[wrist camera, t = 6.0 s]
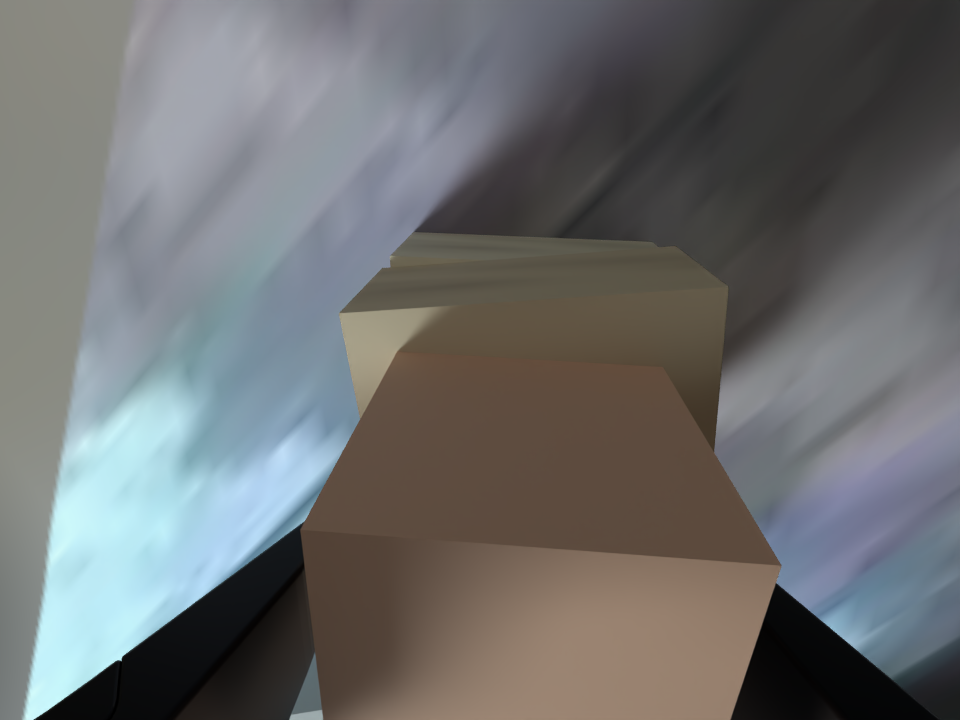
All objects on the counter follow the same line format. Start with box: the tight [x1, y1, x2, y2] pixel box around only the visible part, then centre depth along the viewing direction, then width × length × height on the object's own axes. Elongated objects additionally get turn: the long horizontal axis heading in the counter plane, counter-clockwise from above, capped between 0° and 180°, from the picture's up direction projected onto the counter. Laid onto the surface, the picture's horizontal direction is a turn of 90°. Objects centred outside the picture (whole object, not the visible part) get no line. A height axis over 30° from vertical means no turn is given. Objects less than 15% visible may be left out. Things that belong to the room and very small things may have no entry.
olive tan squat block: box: [390, 232, 658, 267], centre depth 16 cm, size 7×7×4 cm
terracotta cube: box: [300, 351, 781, 720], centre depth 9 cm, size 5×5×5 cm
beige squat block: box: [339, 246, 729, 452], centre depth 13 cm, size 7×7×4 cm
